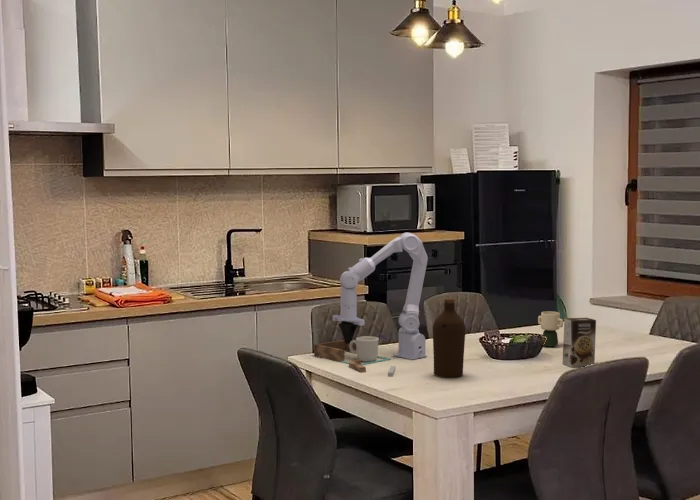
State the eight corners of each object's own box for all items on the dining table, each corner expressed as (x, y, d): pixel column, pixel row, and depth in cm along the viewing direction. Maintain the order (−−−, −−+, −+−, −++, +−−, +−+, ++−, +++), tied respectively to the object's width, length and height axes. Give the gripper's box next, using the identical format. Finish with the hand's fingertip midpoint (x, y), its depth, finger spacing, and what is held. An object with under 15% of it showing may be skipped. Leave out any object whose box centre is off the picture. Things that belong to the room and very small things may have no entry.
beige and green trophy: (567, 347, 339) (568, 313, 338) (556, 349, 334) (557, 315, 333) (542, 343, 347) (543, 310, 345) (532, 345, 342) (533, 311, 341)
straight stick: (392, 377, 288) (392, 372, 288) (387, 377, 288) (387, 372, 288) (395, 370, 298) (395, 366, 297) (390, 370, 298) (390, 366, 298)
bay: (390, 359, 314) (390, 358, 314) (357, 366, 303) (358, 365, 303) (372, 355, 320) (372, 354, 320) (340, 361, 309) (340, 361, 309)
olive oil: (468, 378, 286) (469, 300, 284) (435, 378, 285) (436, 301, 283) (460, 371, 296) (462, 296, 294) (429, 371, 295) (430, 296, 293)
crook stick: (372, 369, 295) (372, 365, 295) (361, 372, 293) (361, 368, 293) (359, 363, 305) (358, 358, 304) (348, 366, 303) (347, 361, 303)
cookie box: (571, 367, 303) (572, 320, 301) (562, 363, 309) (563, 317, 307) (595, 366, 305) (596, 319, 304) (585, 362, 311) (586, 316, 310)
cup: (344, 360, 311) (344, 338, 311) (354, 356, 318) (354, 334, 318) (372, 364, 306) (372, 341, 306) (382, 359, 314) (382, 337, 313)
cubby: (373, 356, 320) (373, 345, 319) (341, 362, 309) (341, 350, 309) (345, 350, 330) (345, 339, 330) (314, 355, 320) (314, 344, 320)
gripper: (326, 304, 319) (326, 341, 320) (354, 308, 309) (354, 347, 310) (340, 302, 324) (340, 339, 325) (369, 306, 313) (368, 344, 315)
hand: (348, 343), depth 318 cm, fingers closed
